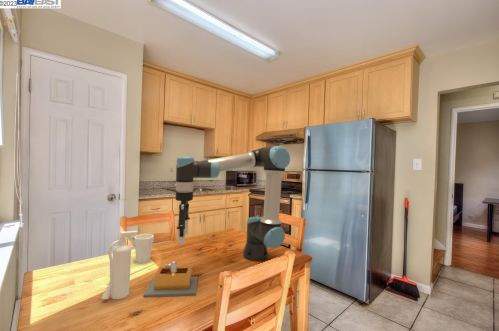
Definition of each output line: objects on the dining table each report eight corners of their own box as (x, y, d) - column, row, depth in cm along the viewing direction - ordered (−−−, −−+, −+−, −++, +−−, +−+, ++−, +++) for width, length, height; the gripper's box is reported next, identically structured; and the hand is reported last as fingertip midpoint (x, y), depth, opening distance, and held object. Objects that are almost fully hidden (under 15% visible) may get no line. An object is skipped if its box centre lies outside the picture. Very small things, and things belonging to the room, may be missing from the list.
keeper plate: (197, 278, 109) (197, 276, 109) (195, 295, 95) (195, 292, 95) (152, 279, 106) (152, 277, 106) (143, 297, 92) (143, 294, 92)
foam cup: (145, 265, 120) (146, 240, 120) (129, 263, 121) (130, 238, 121) (156, 258, 129) (157, 234, 129) (141, 256, 131) (142, 233, 131)
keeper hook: (176, 283, 102) (177, 259, 102) (175, 286, 100) (176, 262, 99) (164, 283, 101) (165, 259, 101) (163, 286, 99) (164, 262, 99)
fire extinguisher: (96, 298, 89) (102, 233, 90) (128, 287, 99) (133, 228, 99) (103, 305, 85) (110, 237, 86) (136, 293, 95) (142, 231, 95)
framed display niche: (191, 279, 106) (191, 266, 106) (189, 289, 98) (190, 274, 98) (158, 280, 103) (159, 267, 103) (154, 290, 96) (154, 275, 96)
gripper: (179, 187, 116) (178, 230, 117) (171, 195, 92) (169, 249, 92) (194, 188, 118) (193, 230, 118) (191, 195, 93) (189, 248, 93)
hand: (183, 238), depth 105 cm, fingers open, 13 cm apart
